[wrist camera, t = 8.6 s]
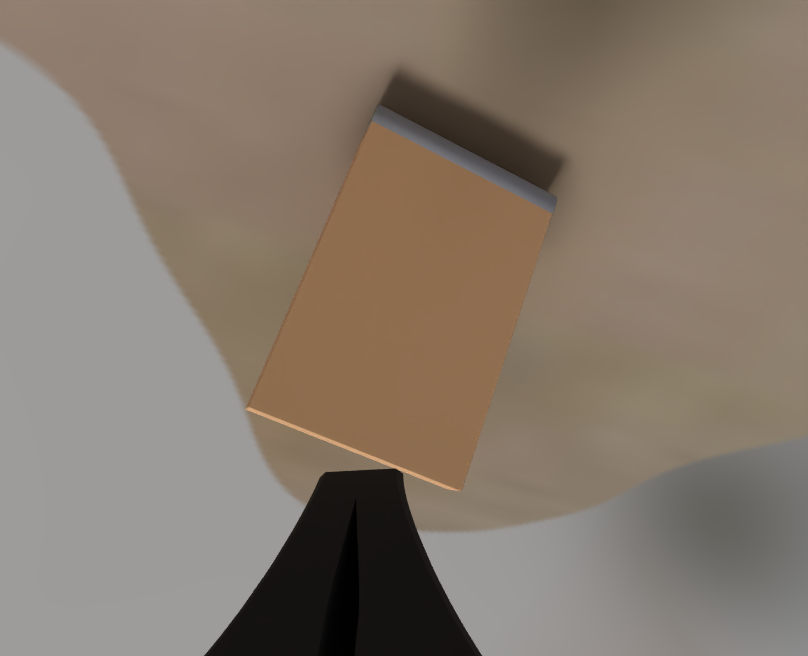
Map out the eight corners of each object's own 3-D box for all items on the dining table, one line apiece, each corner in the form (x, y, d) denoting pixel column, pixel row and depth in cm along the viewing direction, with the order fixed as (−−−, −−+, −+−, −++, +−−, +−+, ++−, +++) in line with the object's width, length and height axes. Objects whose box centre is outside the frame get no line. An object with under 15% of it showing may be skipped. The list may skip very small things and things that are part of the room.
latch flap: (245, 409, 14) (248, 406, 14) (372, 116, 17) (382, 97, 16) (447, 488, 15) (462, 491, 15) (541, 203, 18) (560, 190, 17)
